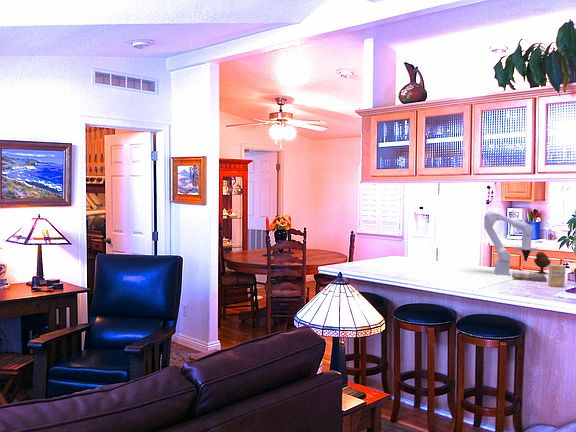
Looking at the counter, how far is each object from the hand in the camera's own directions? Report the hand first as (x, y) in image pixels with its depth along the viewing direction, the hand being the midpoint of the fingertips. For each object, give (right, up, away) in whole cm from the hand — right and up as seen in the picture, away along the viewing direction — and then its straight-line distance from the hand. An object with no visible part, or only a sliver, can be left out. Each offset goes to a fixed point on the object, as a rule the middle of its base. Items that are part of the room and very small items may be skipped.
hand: (525, 261), depth 389 cm
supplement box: (+2, -12, -41) cm, 43 cm away
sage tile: (-4, -9, -17) cm, 20 cm away
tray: (0, -11, -18) cm, 21 cm away
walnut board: (-9, -10, -15) cm, 21 cm away
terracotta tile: (+1, -10, -19) cm, 21 cm away
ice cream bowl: (+14, -9, +8) cm, 19 cm away
